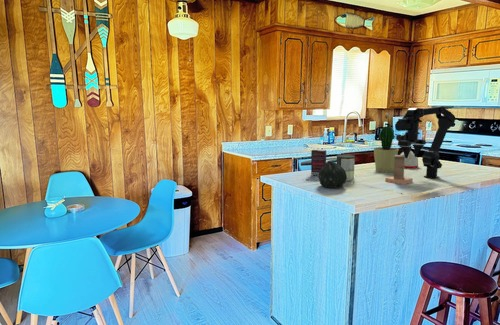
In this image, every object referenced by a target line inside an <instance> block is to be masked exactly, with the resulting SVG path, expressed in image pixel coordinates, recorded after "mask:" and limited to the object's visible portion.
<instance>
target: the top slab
mask: <svg viewBox="0 0 500 325" xmlns="http://www.w3.org/2000/svg"><path fill="white" fill-rule="evenodd" d="M384 181H385V182H387V183H393V184H397V185H405V184H410V183H413V181H414V180H413V178H412V177H405V176H404V179H394V175H393V176H387V177H385V178H384Z"/></svg>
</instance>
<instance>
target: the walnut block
mask: <svg viewBox="0 0 500 325" xmlns="http://www.w3.org/2000/svg"><path fill="white" fill-rule="evenodd" d="M404 161H405V155H401V154H397V155H395V159H394V171H393V176H394V179H404V177H405V176H404V175H405V168H404Z"/></svg>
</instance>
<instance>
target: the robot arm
mask: <svg viewBox="0 0 500 325" xmlns="http://www.w3.org/2000/svg"><path fill="white" fill-rule="evenodd" d="M429 115H435V117H436V118H437V125H438V128H437V130H436V132H435V135H434V138H433V141H432V143H431V145H430V148H429V149H428V150H424V152H423V155H422V156H421V157H422V159H421V161H422V164H423V165H422V166H423V167H426V172H425V175H423V177H424V178H427V179H433V180H434V179H438V178H440V176H438V169H442V166H443V164H442V163H441V161H440V150H441V148H442V144H443V142H444V139H445V137H446V135H447V133H448V130H449V129H450V128H452V126H453V125H454V123H455V122H456V115H455V114H453V112H451V111H450V110H448V109H447V108H445V107H444V106H442V105H439V106H437V105H436V106H431V107H425V108H421V107H419V108H418V107H417V108H408V109H407V111H406V112H405V113H404V115H403V117H402V118H398V119H397V121H396V122H395V124H394V128H395V130H396V131H398V132H403V131H405V133H404V134H396V137H395V141H397V146H399V148H401V149H402V153H403V152H404V155H405V158H408V155H409V152H410V151H411V150H410V149H412V148H413V153H414V156H415V157H416V158H418V155H419V153H420V152H421V150H422V148H424V147H425V145H426V140H425V139H422V138H419V135H420V134H421V132H419V127H420V126H419V125H420V123H423V121H422V119H420V118H423V117H425V116H429ZM412 146H413V147H412Z"/></svg>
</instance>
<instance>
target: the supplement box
mask: <svg viewBox="0 0 500 325" xmlns="http://www.w3.org/2000/svg"><path fill="white" fill-rule="evenodd" d="M310 156H311V158H310V159H311V160H310V161H311V162H310V163H311V164H310V166H311V167H310V168H311V169H310V170H311V171H310V174H311V175H310V176H313V175H318V176H319V172H320V170H321V168H322V167H323V166H324V165H325V164H326V163H327V150H326V149H325V150H324V149H311V154H310ZM318 176H317V177H318Z"/></svg>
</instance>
